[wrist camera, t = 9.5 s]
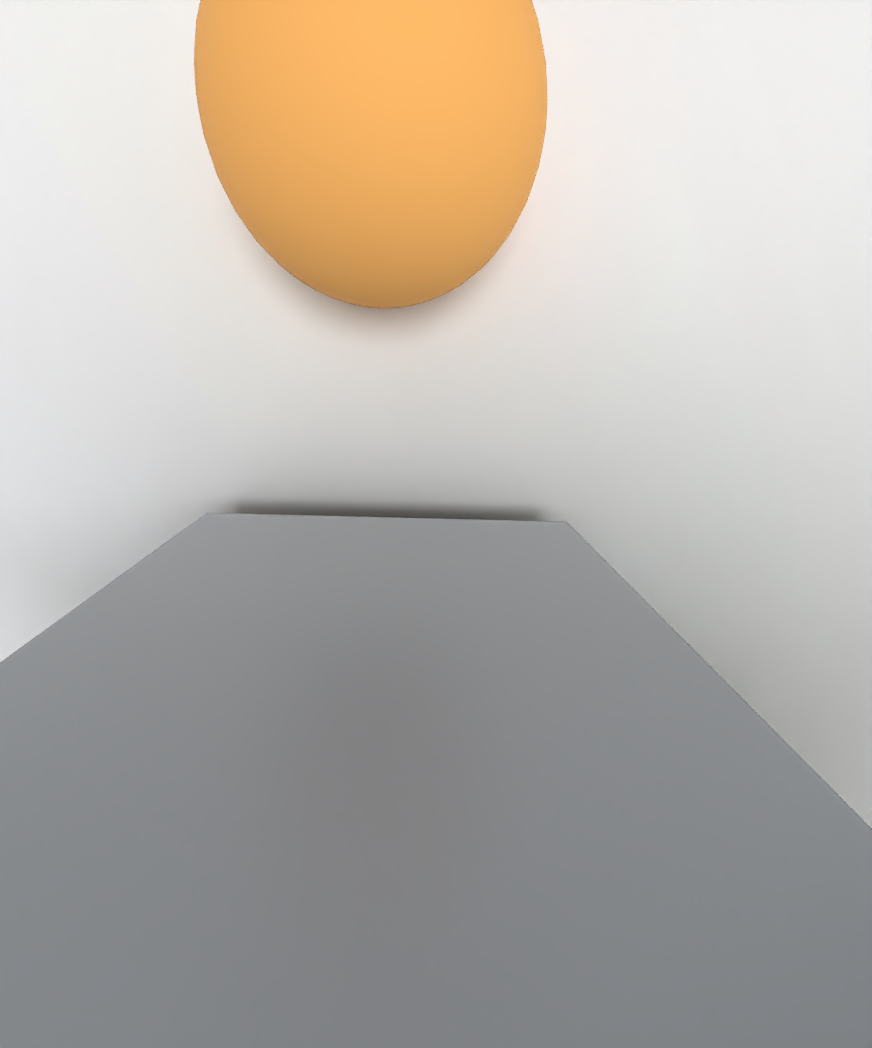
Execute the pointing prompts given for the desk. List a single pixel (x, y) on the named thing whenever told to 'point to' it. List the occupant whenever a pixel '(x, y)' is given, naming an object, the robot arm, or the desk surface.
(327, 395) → the desk surface
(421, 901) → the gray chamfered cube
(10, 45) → the desk surface
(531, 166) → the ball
